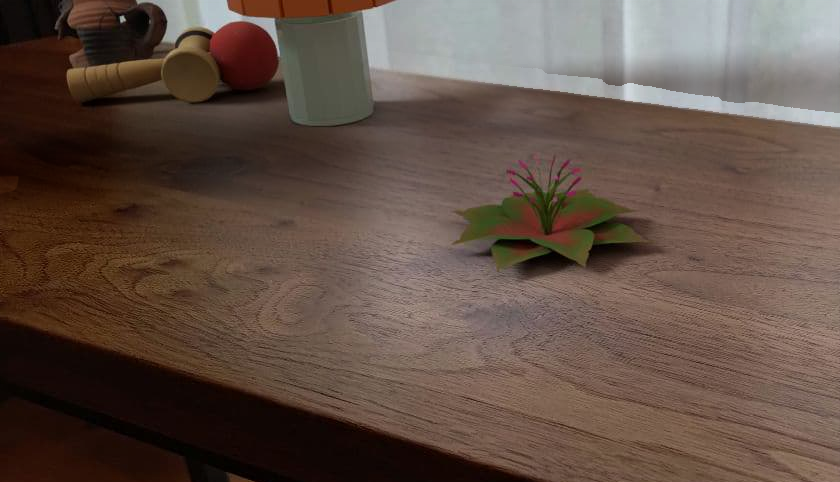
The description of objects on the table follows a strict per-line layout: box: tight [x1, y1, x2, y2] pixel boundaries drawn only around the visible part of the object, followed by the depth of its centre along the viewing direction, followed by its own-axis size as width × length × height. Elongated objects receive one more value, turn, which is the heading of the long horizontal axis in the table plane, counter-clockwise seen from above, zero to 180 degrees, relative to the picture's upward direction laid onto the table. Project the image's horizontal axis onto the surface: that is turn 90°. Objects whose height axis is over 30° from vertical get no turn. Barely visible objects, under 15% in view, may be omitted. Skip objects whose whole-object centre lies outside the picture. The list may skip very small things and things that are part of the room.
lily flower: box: [450, 154, 650, 272], centre depth 57 cm, size 12×12×5 cm
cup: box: [274, 10, 375, 127], centre depth 80 cm, size 7×7×8 cm
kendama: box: [66, 20, 280, 104], centre depth 88 cm, size 8×6×18 cm
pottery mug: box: [54, 0, 168, 69], centre depth 100 cm, size 12×10×8 cm
